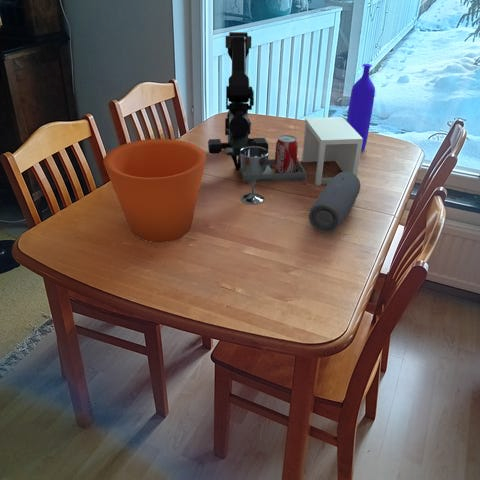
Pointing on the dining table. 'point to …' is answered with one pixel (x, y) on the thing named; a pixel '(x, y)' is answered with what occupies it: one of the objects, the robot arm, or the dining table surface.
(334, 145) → the white side table
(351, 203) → the bluetooth speaker
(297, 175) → the tray
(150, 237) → the flowerpot
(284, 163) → the soda can
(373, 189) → the dining table surface
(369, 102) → the bottle
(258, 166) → the wine glass
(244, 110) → the robot arm
